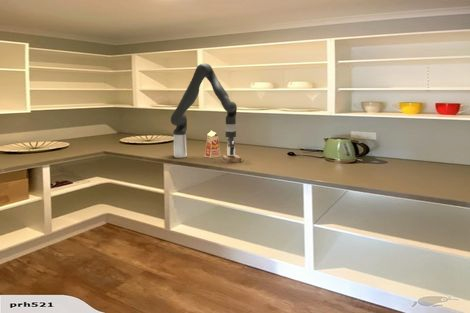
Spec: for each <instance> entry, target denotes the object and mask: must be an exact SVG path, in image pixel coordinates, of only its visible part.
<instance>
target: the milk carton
mask: <svg viewBox="0 0 470 313" xmlns="http://www.w3.org/2000/svg"><path fill="white" fill-rule="evenodd" d="M220 148H221V147H220V140H219V135H217V132H215V131H213V130H210V132H208V133H207V138H206V144H205V150H204V152H205V153H204V157H206V158H208V159H209V158H211V159H213V158H219V157H220V158H221V149H220Z"/></svg>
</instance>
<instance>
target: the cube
mask: <svg viewBox="0 0 470 313" xmlns="http://www.w3.org/2000/svg"><path fill="white" fill-rule="evenodd" d="M226 155H228V156H234V155H236V146H234V150H233V155H230V147H229V146H228V145H227V146H226Z"/></svg>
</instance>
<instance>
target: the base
mask: <svg viewBox="0 0 470 313" xmlns="http://www.w3.org/2000/svg"><path fill="white" fill-rule="evenodd" d="M220 158H221V161H222V162H223V163H224V164H227V163H230V164H231V163H242V157H241V156H239V155H238V154H235V155H234V156H228V155H227V154H226V155H225V154H224V155H220Z"/></svg>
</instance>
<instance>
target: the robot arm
mask: <svg viewBox="0 0 470 313" xmlns="http://www.w3.org/2000/svg"><path fill="white" fill-rule="evenodd" d="M205 78H206V80H208V82H209V83H210V85H211V88H212V90H213V93H214V94H215V96H216V97H217V99H218V100H219V101H220V104H221V105H222V108H223V110H224V111H225V112H226V117H225V138H227V139H226V141H227V146H229V147H230V155H233V150H234V147H235V143H236V142H235V139H234V138H236V137H237V125H236V124H237V122H236V119H237V118H236V117H237V111H238V109H237V108H238V107H237V106H238V105H237V104H236V103H235V101H231V100H230V97H229V94H228V92H226V90H225V88H224V86H222V85H221V82H220V81H219V79H218V77H217V75H216V74H215V71H214V69H213V68H212V66H211V65H210V64H209V63H200V64H198V65H197V66H196V69H195V71H194V72H193V76H192V78H191V80H190V82H189V83H188V86H187V88H186V90H185V91H184V93H183V95H182V98H181V100H180V101H179V103H178V105H177V107H176V108H175V110H174V111H173V112H172V114H171V117H170V123H171V124H172V126H176V127H175V129H174V130H173V133H172V134H173V135H172V136H173V157H174V158H175V159H176V158H180V159H182V158H186V157H187V154H188V153H187V130H188V128H187V127H188V119H187V114H185V113H186V111H187V110H188V109H190V107H192V106H193V104H195V102H196V100H197V98H198V96H199V92H200V87H201V85H202V82H203V81H204V80H205Z"/></svg>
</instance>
